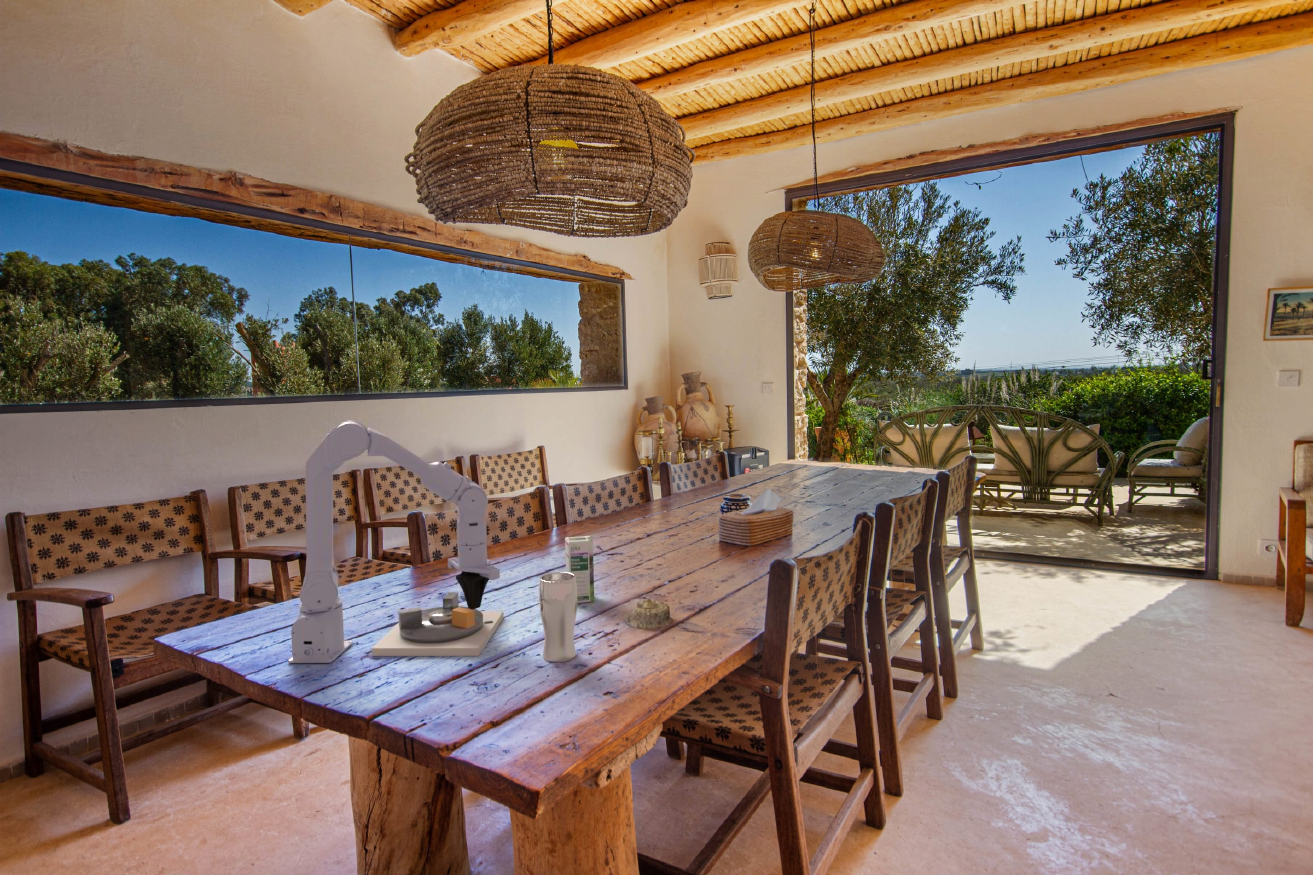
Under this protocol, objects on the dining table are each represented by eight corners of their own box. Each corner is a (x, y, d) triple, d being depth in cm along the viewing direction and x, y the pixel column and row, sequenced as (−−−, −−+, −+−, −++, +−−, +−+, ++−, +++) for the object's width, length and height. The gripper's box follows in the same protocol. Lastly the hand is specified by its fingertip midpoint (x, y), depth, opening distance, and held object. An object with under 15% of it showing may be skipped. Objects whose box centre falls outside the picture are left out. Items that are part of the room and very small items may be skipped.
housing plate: (479, 655, 129) (478, 646, 128) (371, 655, 129) (371, 647, 129) (503, 617, 148) (503, 610, 148) (410, 618, 149) (410, 610, 149)
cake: (673, 616, 151) (674, 592, 150) (670, 634, 141) (672, 608, 140) (627, 611, 152) (629, 588, 151) (622, 629, 142) (623, 604, 141)
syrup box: (569, 604, 157) (568, 541, 155) (565, 596, 162) (564, 535, 161) (594, 602, 158) (593, 540, 157) (590, 594, 164) (589, 534, 163)
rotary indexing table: (470, 642, 130) (470, 619, 130) (386, 642, 131) (385, 619, 130) (491, 613, 146) (491, 592, 146) (416, 613, 146) (415, 592, 146)
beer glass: (560, 645, 133) (559, 569, 132) (586, 654, 129) (584, 575, 128) (532, 656, 128) (530, 577, 127) (558, 666, 124) (556, 584, 122)
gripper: (511, 543, 139) (512, 609, 140) (466, 533, 148) (468, 595, 149) (482, 551, 133) (484, 619, 134) (438, 540, 142) (440, 604, 143)
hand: (474, 607), depth 141 cm, fingers closed
